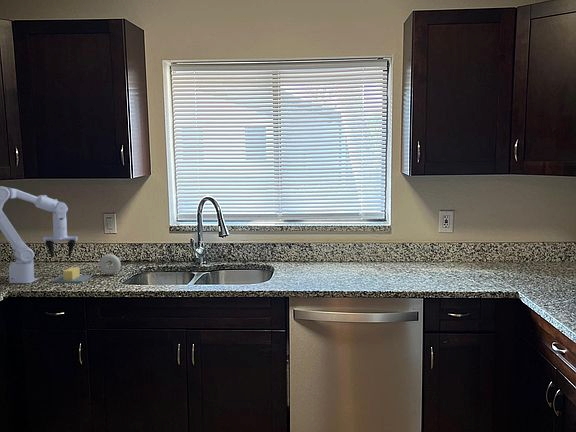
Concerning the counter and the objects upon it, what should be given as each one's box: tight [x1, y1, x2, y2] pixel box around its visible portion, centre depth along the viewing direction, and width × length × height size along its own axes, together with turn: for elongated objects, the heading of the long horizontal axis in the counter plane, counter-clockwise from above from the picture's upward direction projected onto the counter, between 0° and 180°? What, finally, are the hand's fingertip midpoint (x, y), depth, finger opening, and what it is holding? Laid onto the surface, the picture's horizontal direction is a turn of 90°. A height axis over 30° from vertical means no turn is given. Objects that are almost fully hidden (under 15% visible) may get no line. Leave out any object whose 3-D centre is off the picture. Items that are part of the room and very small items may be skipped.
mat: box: [50, 274, 93, 284], centre depth 232 cm, size 14×12×1 cm
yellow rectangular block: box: [62, 266, 81, 280], centre depth 232 cm, size 8×4×4 cm, turn 0°
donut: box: [98, 253, 122, 276], centre depth 242 cm, size 10×4×10 cm, turn 92°
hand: (61, 256), depth 237 cm, fingers open, 7 cm apart
